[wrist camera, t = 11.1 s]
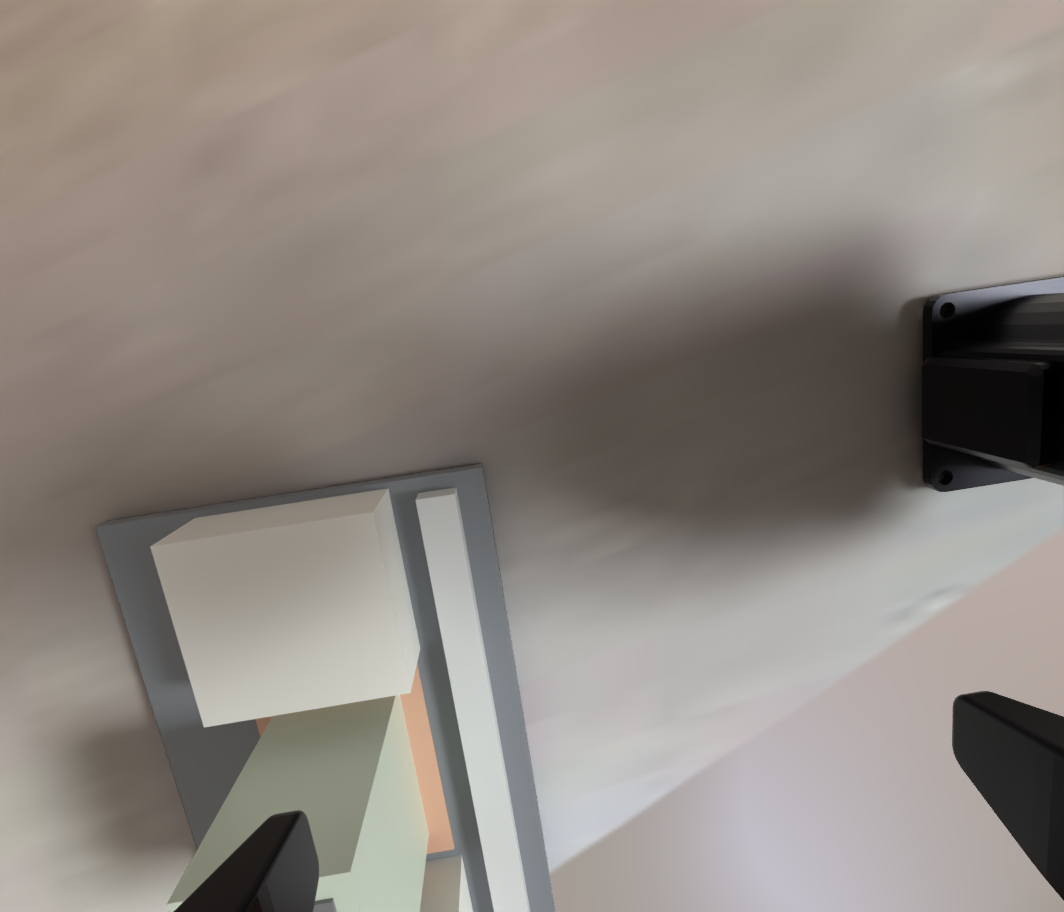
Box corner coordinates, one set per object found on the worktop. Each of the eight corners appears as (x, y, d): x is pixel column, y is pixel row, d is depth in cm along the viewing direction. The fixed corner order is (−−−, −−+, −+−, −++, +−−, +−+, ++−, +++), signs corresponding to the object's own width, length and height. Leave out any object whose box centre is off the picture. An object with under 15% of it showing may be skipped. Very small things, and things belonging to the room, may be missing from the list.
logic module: (397, 686, 20) (349, 875, 13) (428, 834, 21) (399, 1078, 14) (278, 705, 20) (164, 908, 13) (316, 853, 21) (232, 1110, 14)
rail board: (482, 463, 19) (480, 488, 16) (561, 948, 24) (571, 1039, 21) (107, 520, 19) (33, 557, 16) (257, 1004, 23) (222, 1106, 20)
